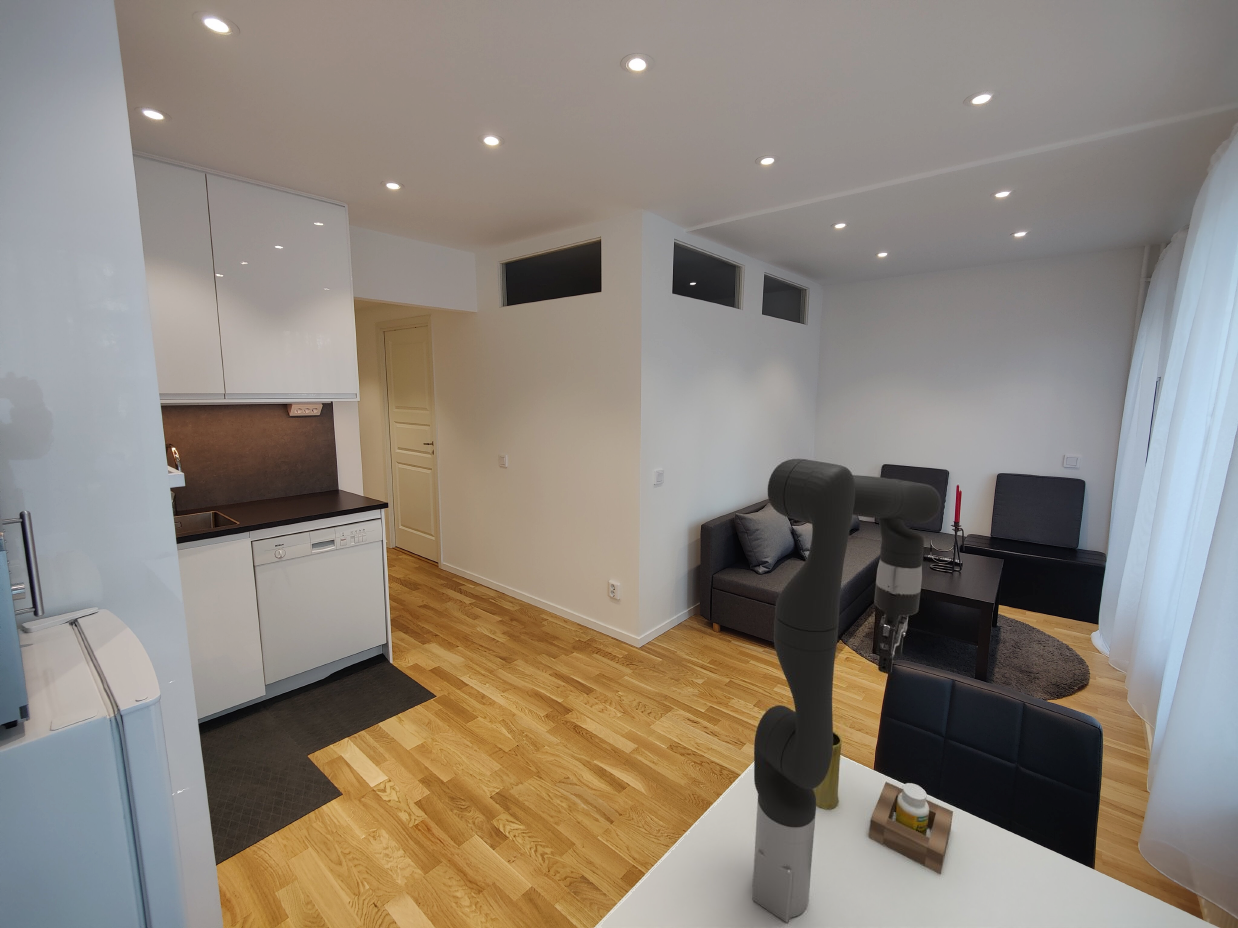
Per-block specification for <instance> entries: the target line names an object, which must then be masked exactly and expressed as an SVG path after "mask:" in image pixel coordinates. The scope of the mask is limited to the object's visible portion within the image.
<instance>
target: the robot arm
mask: <svg viewBox="0 0 1238 928" xmlns="http://www.w3.org/2000/svg"><path fill="white" fill-rule="evenodd" d="M767 499H768V502H769V503H770V506H771V507H772V508H773V510H775V511H776V513H778V514H780V515H781V516H784V517H785V518H788V519H791V520H794V521H798V522H802V523H806V524H810V525H812V527H811V528H812V529H811V531H812V532H811V534H812V535H811V541H810V542H811V543H810V545H809V546H810V547H809V550H808V554H807V558H806V559H805V561H804V562H803V564H802V566H801V568H799V569H798V571H797V572H796V573H795V574H794V575H793V576H792V578H791V579H790V580H789V581H788V582H787V583H786V584H785V586H784V587H783V589H782V590H781V591H780V593H779V595H778V596H777V599H776V603H775V610H774V620H773V621H774V624H773V645H774V649H775V653H776V656H777V660H778V662H779V665H780V667H781V669H782V673H783V675H784V677H785V679H786V682H787V684H788V686H789V688H788V689H789V690H790V693H791V696H792V699H793V704H794V705H793V706H794V710H793V709H792V708H790V707H788V706H786V705H779V704H778V705H774V706H771V707H770V708H768V709H767V710H766V711H765V712H764V714H763V715H762V717H761V718H760V720H759V722H758V725H757V727H756V731H755V735H754V747H753V760H754V761H753V769H754V770H753V774H754V775H753V780H754V787H755V789H756V792H757V793H756V794H757V807H756V809H757V810H756V821H755V822H756V823H755V836H754V838H755V839H754V853H753V854H754V856H753V875H752V900H753V901H754V902H755V903H756V904H757V905H760V906H761V907H763V908H764V909H765V910H767V911H768V912H770V913H771V914H773V915H775V916H776V917H777V918H779V919H780V920H782V921H783V922H785V923H789V922H790V920H791V918H795V917H798V916H800V915H802V914H803V913H804V912H805V911H806V910H807V907H808V906H809V901H810V899H809V898H810V887H811V876H812V875H811V873H812V862H813V850H814V849H813V848H814V837H815V836H814V835H815V826H816V825H815V824H816V813H817V812H816V811H817V806H816V796H815V793H814V790H813V789H814V788H816V787H818V786H819V785H820V784H821V783H822V782H823V780H824V779H825V777H826V775H827V773H828V770H829V767H830V764H831V759H832V752H833V732H834V726H833V725H834V723H833V722H834V719H833V717H834V716H833V685H834V671H835V661H836V653H837V646H838V634H839V633H838V632H839V623H840V621H839V620H840V603H841V593H842V591H841V590H842V579H843V572H844V564H845V558H846V552H847V548H848V547H847V546H848V542H849V537H850V531H851V525H852V522H853V521H852V520H853V516H857V517H863V518H869V519H871V518H873V519H877V520H878V523H879V524H878V525H879V531H880V536H881V544H880V552H879V553H880V554H879V562H878V566H877V570H876V580H875V588H874V599H873V602H874V604H875V606H876V607H877V608H878V609H879V610H881V611H883V612H884V616H881V619H880V623H879V625H878V633H877V634H878V635H877V644H876V650H875V653H876V654H877V655H879V656H878V657H879V658H878V668H877V669H878V671H879V672H880V673H884V674H887V675H890V674H892V672H893V671H892V670H893V662H894V656H895V655H897V656H901V654H902V653H903V643H904V637H905V636H906V633H907V630H908V627H909V626H908V623H909V622H908V620H909V616H913V615H915V614H917V613H918V612H919V608H920V607H919V606H920V599H921V588H922V580H923V572H922V571H923V570H922V569H923V568H922V567H923V558H924V548H925V540H924V537H923V536H922V534H920V533H918V532H916V531H914V530H913V529H911V528H909V527H907V526H906V525H905V524H904V521H907V522H911V523H916V524H917V523H919V524H924V523H928V522H930V521H932V520H934V519H935V518H936V517H937V515H938V514H939V513H940V510H941V509H942V508H941V507H942V499H941V495H940V493H939V492H938V490H937V489H936V488H934V487H933V486H931V485H929V484H926V483H920V482H914V481H909V480H903V479H897V478H887V477H880V476H871V475H870V476H869V475H859V474H858V475H857V474H852V472H851V470H850V469H849V468H848V467H846V466H844V465H841V464H840V465H839V464H836V463H829V462H825V461H824V462H823V461H818V460H812V459H806V458H792V459H787V460H784V461H783V462H780V464H778V465H777V466H775V468H774V470H773V471H772V473H771V474H770V477H769V479H768V483H767ZM884 645H886V646H888V648H886V647H884Z"/></svg>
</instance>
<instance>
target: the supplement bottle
mask: <svg viewBox="0 0 1238 928" xmlns="http://www.w3.org/2000/svg"><path fill="white" fill-rule="evenodd" d="M902 789H903V790H902V793H900V794H899V796H898V799H897V809H896V813H895V818H894V821H896V822H898V823H900V824H902V825H904V826H906V827H909V828H911V829H913V830H915V831H917V832H919V833H921V834H923V835H925V836H927V830H928V828H927V824H928V816H929V806H928V804H927V802H926V800H927V792H926V791H925V789H923V787H921V786H920V785H918V784H915V783H912V782H910V783H909V782H907V783H905V784H903V786H902Z"/></svg>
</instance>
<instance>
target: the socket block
mask: <svg viewBox="0 0 1238 928" xmlns="http://www.w3.org/2000/svg"><path fill="white" fill-rule="evenodd" d="M902 790H903V788H901V787H899V786H897V785H895V784H892V783H890V782H888V781H885V783H884V785H883V787H882V790H881V793H880V795H879V797H878V799H877V803H876V805H875V807H874V810H873V811H872V815H871V816H870V821H869V830H868V838H870V839H872V840H873V841H875V842H877V843H879V844H882V845H883V846H885V847H887V848H889V849H891V850H893V851H895V852H897V853H899V854H900V855H903V856H905V857H907V858H908V859H911V860H912V861H914V862H917V863H919V864H920V865H921V866H925V868H928V869H930V870H932V871H934V872H935V873H938V874H939V875H941V874H942V871H943V870H942V869H943V865H944V861H945V857H946V852H947V847H948V843H949V839H950V834H951V830H952V829H951V828H952V822H953V815H954V814H953V813H954V811H952V810H951V809H948V808H946V807H944V806H942V805H939V804H937V803H936V802H935V803H934V802H932V801H931V800H928V799H926V802H927V804H928V806H929V816H928V824H927V829H929V830H931V831H930V835H929V836H927V835H926V836H925V835H923V834H921V833H919V832H917V831H915V830H913V829H911V828H909V827H906V826H904V825H902V824H900V823H898V822H896V821H895V819H894V820H893V817H894V814H896V809H897V799H898V796H899V794H900V793H902Z"/></svg>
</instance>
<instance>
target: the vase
mask: <svg viewBox="0 0 1238 928" xmlns="http://www.w3.org/2000/svg"><path fill="white" fill-rule="evenodd" d="M842 742H843V741H842V738H841V736H840V735H839V733H836V732H835V731H833V752H832V759H831V764H830V767H829V770H828V773H827V775H826V777H825V779H824V780H823V782H822V783H821V784H820V785H819V786H818V787H816V788H814V789H813V790H814V793H815V796H816V807H818V808H821V809H826V810H832V809H835V808H836V807H837V806H838V805H839V802H840V801H839V784H840V783H839V782H840V765H841V764H840V763H841V754H842V752H841V751H842Z"/></svg>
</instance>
